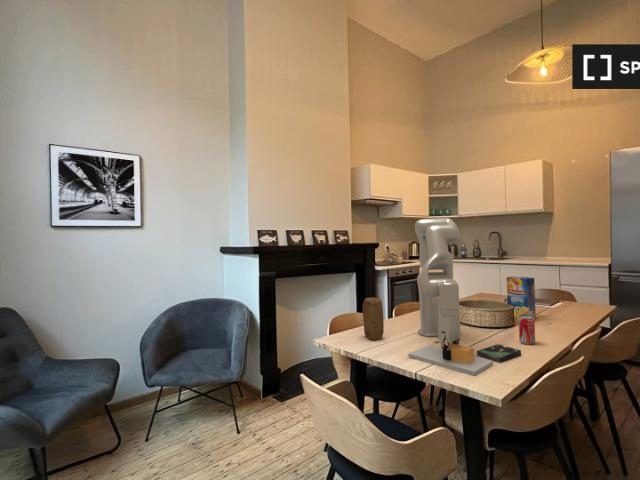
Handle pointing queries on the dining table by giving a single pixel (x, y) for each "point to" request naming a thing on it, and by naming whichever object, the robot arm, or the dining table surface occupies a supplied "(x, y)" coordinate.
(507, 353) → the disk drive
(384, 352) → the dining table surface
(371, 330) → the block
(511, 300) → the juice carton
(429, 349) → the board
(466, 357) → the block
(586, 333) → the dining table surface
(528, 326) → the soda can
